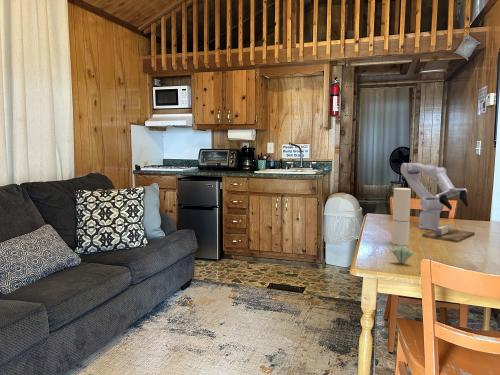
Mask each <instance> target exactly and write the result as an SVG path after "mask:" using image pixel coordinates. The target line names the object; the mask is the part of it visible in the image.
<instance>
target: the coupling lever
mask: <svg viewBox="0 0 500 375" xmlns="http://www.w3.org/2000/svg"><path fill="white" fill-rule="evenodd" d="M453 229H454V225H453V224H446V223H445V224H442V225H441V226H439V227H438V228H435V235H437V236H441V235H442V234H445V233H451V232H453Z"/></svg>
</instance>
